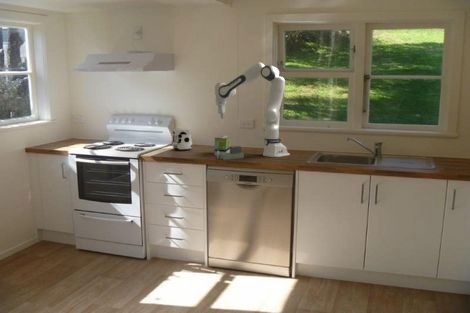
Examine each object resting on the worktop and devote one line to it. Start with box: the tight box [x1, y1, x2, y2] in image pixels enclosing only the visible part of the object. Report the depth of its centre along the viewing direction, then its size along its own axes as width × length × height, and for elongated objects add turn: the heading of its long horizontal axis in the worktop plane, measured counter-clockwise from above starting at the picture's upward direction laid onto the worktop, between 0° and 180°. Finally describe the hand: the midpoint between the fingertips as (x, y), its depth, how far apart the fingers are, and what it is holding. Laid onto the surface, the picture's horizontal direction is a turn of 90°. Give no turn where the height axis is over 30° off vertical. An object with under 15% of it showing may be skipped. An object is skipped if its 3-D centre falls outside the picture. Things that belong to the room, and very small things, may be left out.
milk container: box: [172, 127, 193, 151], centre depth 396 cm, size 17×17×18 cm
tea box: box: [214, 135, 231, 157], centre depth 374 cm, size 15×10×15 cm, turn 168°
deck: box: [216, 145, 245, 161], centre depth 357 cm, size 20×9×9 cm, turn 119°
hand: (222, 118), depth 384 cm, fingers closed
